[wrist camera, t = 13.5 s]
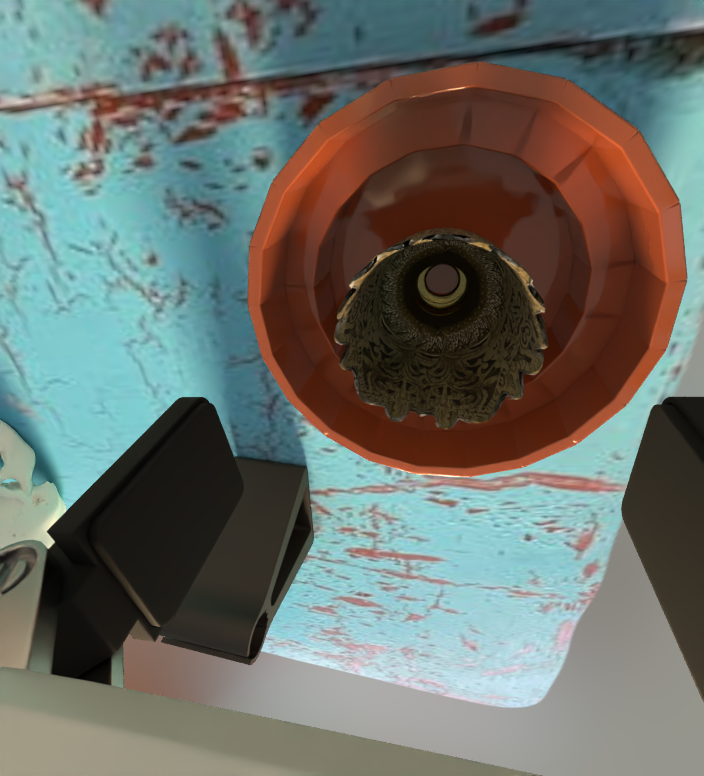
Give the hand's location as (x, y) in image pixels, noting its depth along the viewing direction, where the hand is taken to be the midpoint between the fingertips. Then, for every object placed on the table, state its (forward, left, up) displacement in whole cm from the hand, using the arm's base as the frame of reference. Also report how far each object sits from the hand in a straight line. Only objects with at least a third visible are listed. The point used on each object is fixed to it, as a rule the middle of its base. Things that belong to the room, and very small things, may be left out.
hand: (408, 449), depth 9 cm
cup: (0, 0, -14) cm, 14 cm away
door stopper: (+18, -14, -15) cm, 27 cm away
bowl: (0, 0, -15) cm, 15 cm away
